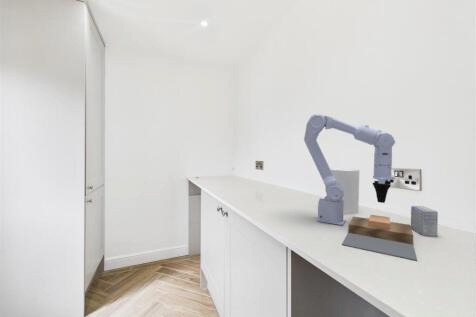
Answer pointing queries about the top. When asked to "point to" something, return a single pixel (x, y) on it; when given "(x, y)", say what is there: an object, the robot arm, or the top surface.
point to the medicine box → (424, 220)
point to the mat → (380, 246)
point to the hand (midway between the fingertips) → (381, 200)
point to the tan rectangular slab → (379, 222)
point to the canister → (348, 188)
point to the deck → (381, 230)
